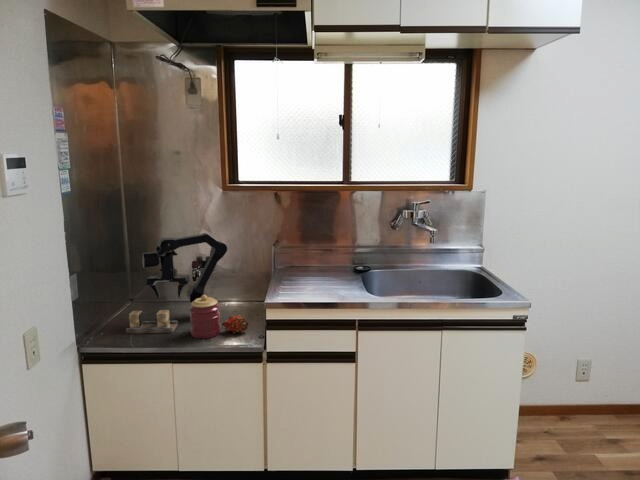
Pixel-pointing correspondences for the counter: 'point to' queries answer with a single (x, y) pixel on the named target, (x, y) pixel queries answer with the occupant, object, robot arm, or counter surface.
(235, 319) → the dragon fruit
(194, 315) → the canister
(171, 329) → the slider rail with block
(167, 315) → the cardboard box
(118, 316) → the counter surface
